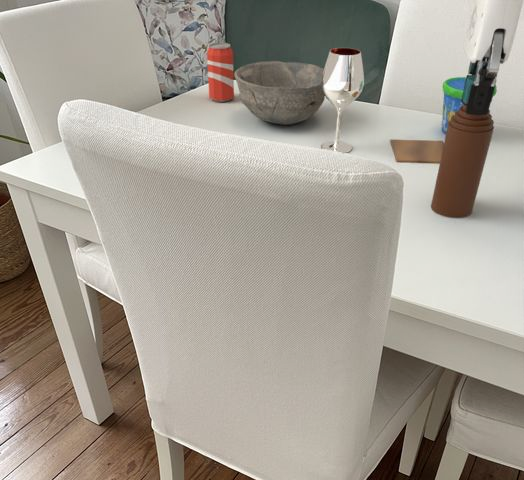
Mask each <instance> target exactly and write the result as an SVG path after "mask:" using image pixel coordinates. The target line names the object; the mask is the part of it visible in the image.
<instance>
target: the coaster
mask: <svg viewBox="0 0 524 480" xmlns="http://www.w3.org/2000/svg"><path fill="white" fill-rule="evenodd" d="M389 142H390V146H391V149H392V152H393V155H394V159H395V161H396V163H423V164H440V160H441V156H442V151H443V146H444V140H429V139H428V140H427V139H426V140H424V139H389Z"/></svg>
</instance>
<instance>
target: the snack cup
mask: <svg viewBox="0 0 524 480" xmlns="http://www.w3.org/2000/svg"><path fill="white" fill-rule="evenodd" d="M466 77H467V76H456V77H450V78H447V79H446V80H444V82H443V83H442V92H443V98H442V99H443V100H442V115H441V116H442V118H441V132H442V133H443V134H446V132H447V127H448V123H449V121H450V120H451V117H452V116H453V115H455V113H456V112H457V111H458V110H459V108H460V107H462V106H463V103H462V102H461V99H462V95H463V90H464V86H465V81H466ZM497 92H498V90H497V85H496V86H495V90H494V94H493V97H494V96H496V95H497Z"/></svg>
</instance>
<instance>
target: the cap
mask: <svg viewBox="0 0 524 480" xmlns="http://www.w3.org/2000/svg"><path fill="white" fill-rule="evenodd" d="M470 75H471V76H468V78H467V82H466V84H465V89H464V93H463V98H462V99H463V102H464V103H466V104H467V101H468V96H469V92H470V88H471V84H474V80H475V75H472V74H470ZM495 86H496V87H497V79H496V83H495ZM494 90H495V87H494ZM493 94H494V91H493ZM493 97H494V96H493V95H492V99H491V103H492V101H493Z"/></svg>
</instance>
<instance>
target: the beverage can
mask: <svg viewBox="0 0 524 480" xmlns="http://www.w3.org/2000/svg"><path fill="white" fill-rule="evenodd" d="M206 60H207V80H208V81H207V82H208V97H209V99H211V100H212V101H214V102H218V103H225V102H229V101H231V100H232V99H234V98H235V84H234V83H235V80H234V79H235V76H234V52H233V50H232V48H231V44H230V43H228V42H213V43H209V44H208V49H207V50H206Z"/></svg>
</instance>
